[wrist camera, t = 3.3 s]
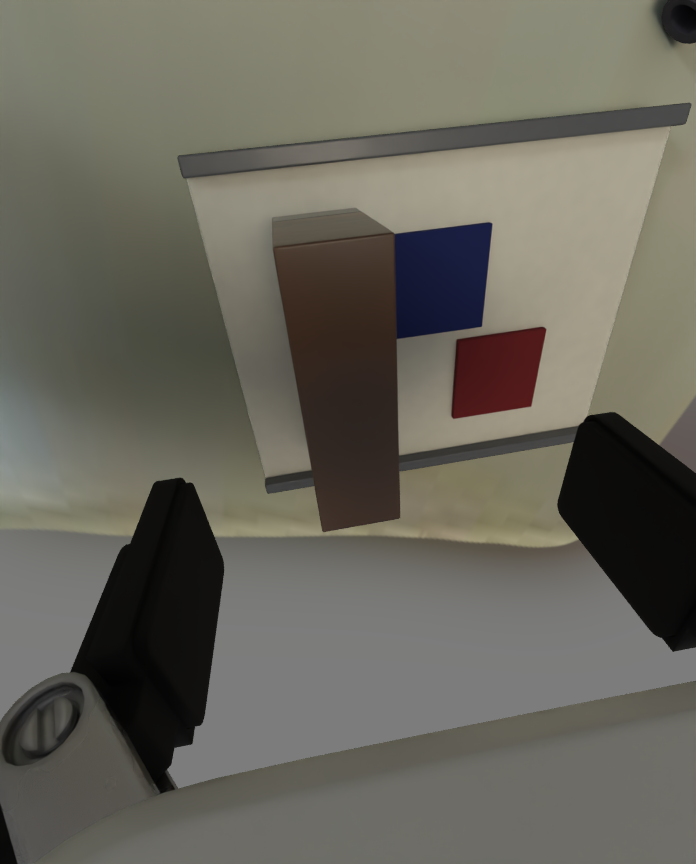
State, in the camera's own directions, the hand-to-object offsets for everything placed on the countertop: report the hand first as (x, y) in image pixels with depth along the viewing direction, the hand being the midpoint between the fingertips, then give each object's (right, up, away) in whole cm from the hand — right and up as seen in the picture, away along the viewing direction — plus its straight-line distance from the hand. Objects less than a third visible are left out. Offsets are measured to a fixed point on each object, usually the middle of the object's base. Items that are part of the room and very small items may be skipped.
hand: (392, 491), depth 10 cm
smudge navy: (+2, +7, +6) cm, 10 cm away
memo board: (+2, +7, +9) cm, 11 cm away
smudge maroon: (+6, +4, +9) cm, 12 cm away
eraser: (-2, +5, +7) cm, 9 cm away
